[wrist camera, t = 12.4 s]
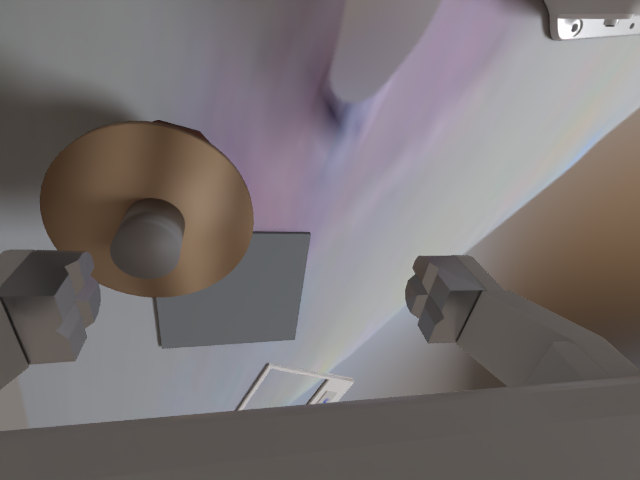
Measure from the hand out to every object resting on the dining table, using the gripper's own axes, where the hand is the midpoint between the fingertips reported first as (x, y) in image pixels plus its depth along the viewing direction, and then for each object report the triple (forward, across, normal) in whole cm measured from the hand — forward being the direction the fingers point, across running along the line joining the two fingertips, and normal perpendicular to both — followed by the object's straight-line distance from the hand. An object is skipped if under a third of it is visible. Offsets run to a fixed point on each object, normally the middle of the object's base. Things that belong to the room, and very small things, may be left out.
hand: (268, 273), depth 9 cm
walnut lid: (+18, +7, +8) cm, 21 cm away
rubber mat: (+33, +1, +28) cm, 43 cm away
